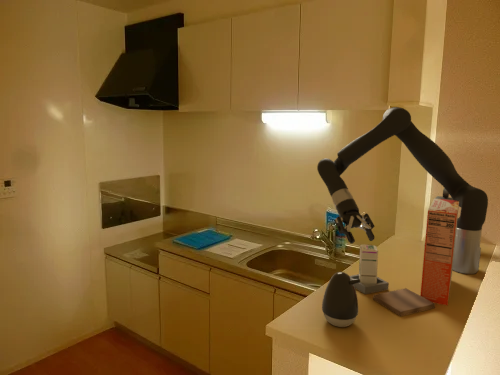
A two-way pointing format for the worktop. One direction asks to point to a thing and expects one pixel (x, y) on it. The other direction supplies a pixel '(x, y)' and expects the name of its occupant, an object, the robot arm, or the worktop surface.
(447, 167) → the robot arm
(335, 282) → the pump dispenser
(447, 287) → the pasta box
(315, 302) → the worktop surface
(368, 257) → the syrup box
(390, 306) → the board
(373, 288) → the holder
